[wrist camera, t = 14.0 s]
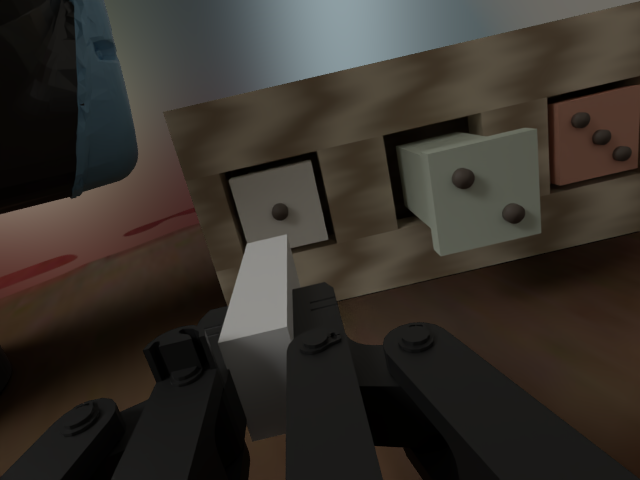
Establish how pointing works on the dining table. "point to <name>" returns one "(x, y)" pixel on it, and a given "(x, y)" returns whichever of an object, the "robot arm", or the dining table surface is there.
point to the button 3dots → (593, 134)
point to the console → (405, 127)
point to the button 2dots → (473, 187)
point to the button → (280, 202)
